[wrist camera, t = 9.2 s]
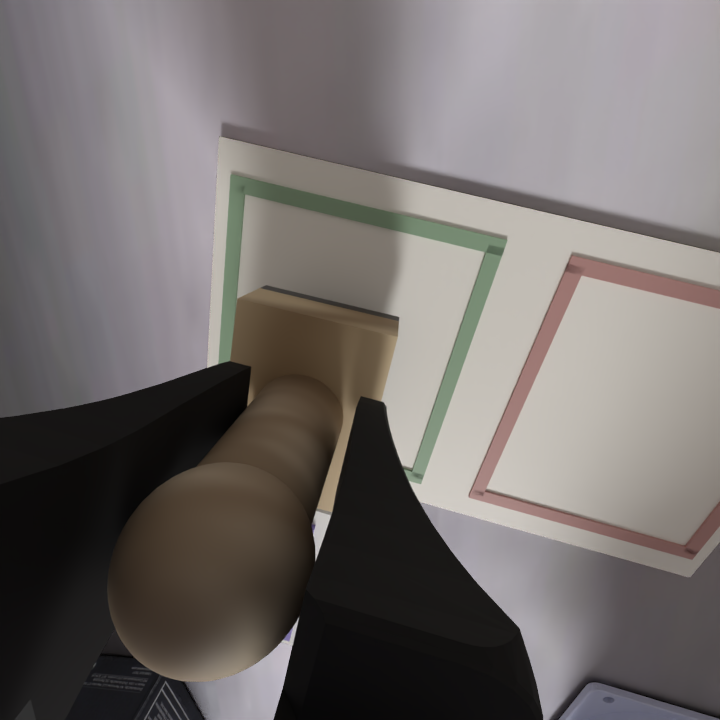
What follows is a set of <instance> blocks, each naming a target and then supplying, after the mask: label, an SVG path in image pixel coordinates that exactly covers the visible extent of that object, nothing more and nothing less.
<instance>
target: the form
mask: <svg viewBox="0 0 720 720" xmlns="http://www.w3.org/2000/svg"><path fill="white" fill-rule="evenodd" d="M265 285H268V286H272V287H276V288H280V289H284V290H289V291H293V292H297V293H301V294H305V295H310V296H314V297H318V298H322V299H326V300H330V301H335V302H339V303H343V304H347V305H351V306H356V307H360V308H364V309H368V310H372V311H377V312H381V313H385V314H389V315H393V316H398V317H399V328H398V338H397V342H396V346H395V350H394V354H393V358H392V361H391V365H390V369H389V373H388V377H387V381H386V385H385V388H384V392H383V396H382V400H381V402H384V404H385V405H386V407H387V417H388V422H389V427H390V431H391V434H392V438H393V441H394V444H395V447H396V450H397V453H398V456H399V459H400V461H401V464H402V466H403V469H404V471H405V473H406V476H407V478H408V480H409V483H410V485H411V487H412V489H413V491H414V493H415V495H416V497H417V498H418V500H419V502H422V503H425V504H429V505H432V506H436V507H440V508H443V509H447V510H450V511H454V512H457V513H461V514H464V515H468V516H472V517H475V518H479V519H482V520H486V521H489V522H493V523H497V524H500V525H504V526H507V527H511V528H514V529H518V530H521V531H525V532H529V533H532V534H536V535H539V536H543V537H546V538H550V539H553V540H557V541H561V542H564V543H568V544H571V545H575V546H578V547H582V548H585V549H589V550H593V551H596V552H600V553H603V554H607V555H610V556H614V557H617V558H621V559H625V560H628V561H632V562H635V563H639V564H642V565H646V566H649V567H653V568H657V569H660V570H664V571H667V572H671V573H674V574H678V575H681V576H685V577H689V578H690V577H691V576H692V575H693V573H694V572H695V571H696V570H697V569H698V567H699V566H700V565H701V564H702V563H703V561H704V560H705V559H706V558H707V557H708V555H709V554H710V553H711V552H712V551H713V549H714V548H715V547H716V546H717V545H718V544H719V542H720V253H718V252H714V251H710V250H706V249H701V248H697V247H693V246H688V245H684V244H680V243H676V242H671V241H667V240H663V239H658V238H654V237H650V236H646V235H641V234H637V233H633V232H628V231H624V230H620V229H615V228H611V227H607V226H603V225H598V224H594V223H590V222H585V221H581V220H577V219H573V218H568V217H564V216H560V215H555V214H551V213H547V212H543V211H538V210H534V209H530V208H525V207H521V206H517V205H513V204H508V203H504V202H500V201H495V200H491V199H487V198H482V197H478V196H474V195H470V194H465V193H461V192H457V191H452V190H448V189H444V188H440V187H435V186H431V185H427V184H422V183H418V182H414V181H410V180H405V179H401V178H397V177H392V176H388V175H384V174H380V173H375V172H371V171H367V170H362V169H358V168H354V167H349V166H345V165H341V164H337V163H332V162H328V161H324V160H319V159H315V158H311V157H307V156H302V155H298V154H294V153H289V152H285V151H281V150H277V149H272V148H268V147H264V146H259V145H255V144H251V143H247V142H242V141H238V140H234V139H229V138H225V137H220V136H219V148H218V167H217V186H216V206H215V225H214V244H213V264H212V283H211V303H210V322H209V341H208V361H207V368H208V367H211V366H214V365H217V364H220V363H224V362H228V361H230V357H231V348H232V339H233V331H234V322H235V314H236V305H237V298H239V297H242V296H244V295H246V294H248V293H250V292H252V291H254V290H257V289H259V288H261V287H263V286H265Z"/></svg>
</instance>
